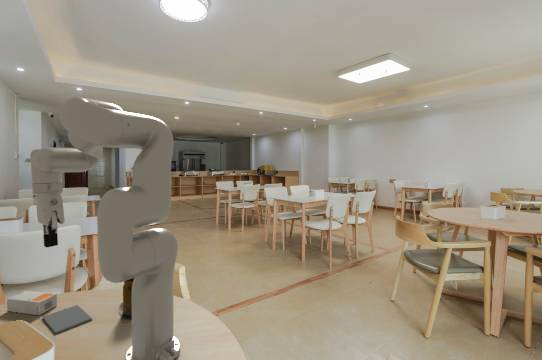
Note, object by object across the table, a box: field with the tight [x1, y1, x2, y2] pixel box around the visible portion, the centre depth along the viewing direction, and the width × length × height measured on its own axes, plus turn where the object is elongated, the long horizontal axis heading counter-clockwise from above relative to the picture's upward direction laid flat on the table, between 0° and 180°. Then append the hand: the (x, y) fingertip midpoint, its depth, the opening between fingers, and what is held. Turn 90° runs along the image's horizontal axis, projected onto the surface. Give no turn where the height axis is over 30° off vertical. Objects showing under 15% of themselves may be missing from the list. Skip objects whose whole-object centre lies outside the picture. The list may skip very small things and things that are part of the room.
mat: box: [42, 304, 93, 335], centre depth 84 cm, size 12×9×1 cm
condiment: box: [118, 277, 135, 323], centre depth 88 cm, size 7×8×12 cm
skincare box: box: [6, 290, 58, 316], centre depth 90 cm, size 6×4×12 cm
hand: (51, 245), depth 90 cm, fingers closed
